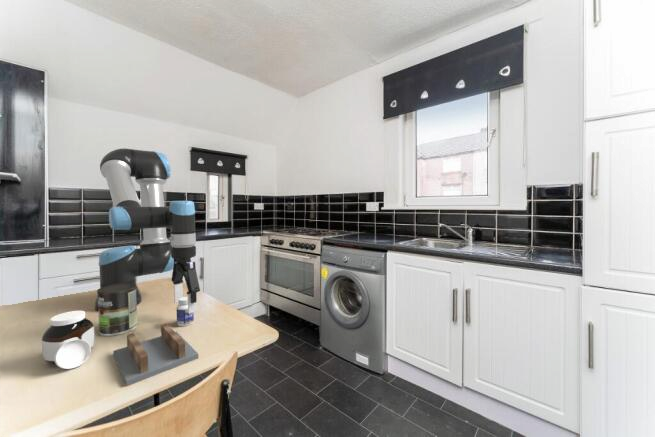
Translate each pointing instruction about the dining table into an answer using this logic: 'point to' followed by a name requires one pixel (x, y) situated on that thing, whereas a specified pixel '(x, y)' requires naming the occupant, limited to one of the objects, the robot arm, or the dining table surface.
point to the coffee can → (117, 309)
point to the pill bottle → (184, 313)
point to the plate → (151, 359)
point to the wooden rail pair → (141, 356)
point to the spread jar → (68, 340)
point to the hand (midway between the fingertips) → (185, 306)
